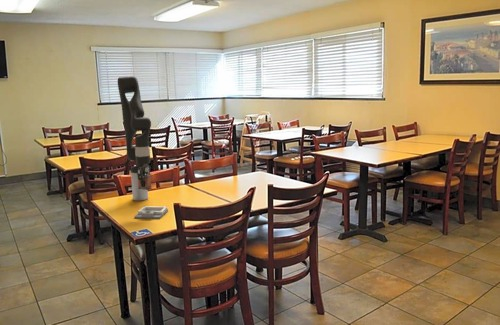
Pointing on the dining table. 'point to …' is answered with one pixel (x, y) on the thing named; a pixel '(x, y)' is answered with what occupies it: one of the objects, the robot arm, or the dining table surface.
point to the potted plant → (147, 182)
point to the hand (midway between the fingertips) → (144, 185)
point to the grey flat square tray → (151, 212)
